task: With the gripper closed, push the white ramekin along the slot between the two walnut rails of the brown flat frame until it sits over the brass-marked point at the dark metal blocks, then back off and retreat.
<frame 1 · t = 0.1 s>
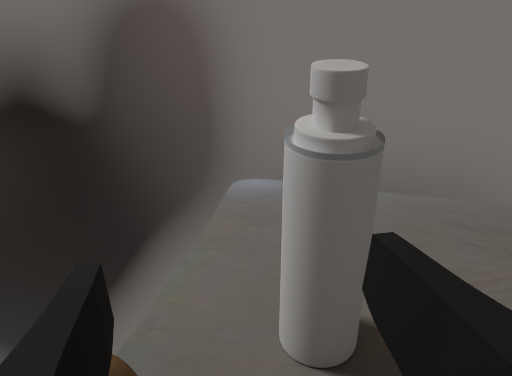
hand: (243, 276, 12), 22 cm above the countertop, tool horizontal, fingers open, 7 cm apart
white bottle: (317, 338, 38), on the countertop
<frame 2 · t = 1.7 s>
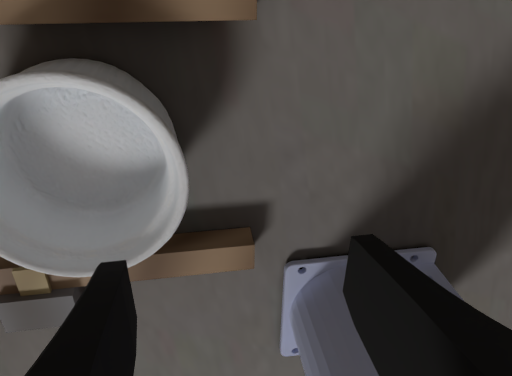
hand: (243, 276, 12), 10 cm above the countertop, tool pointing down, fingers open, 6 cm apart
brown flat frame: (7, 148, 19), on the countertop
ramekin: (89, 140, 20), resting in brown flat frame
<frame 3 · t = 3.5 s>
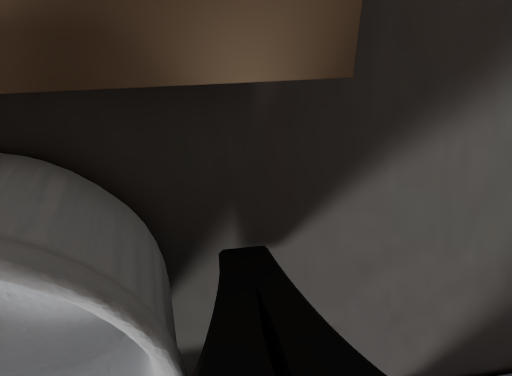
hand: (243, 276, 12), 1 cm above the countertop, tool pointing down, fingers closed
ramekin: (17, 272, 12), resting in brown flat frame, touching gripper
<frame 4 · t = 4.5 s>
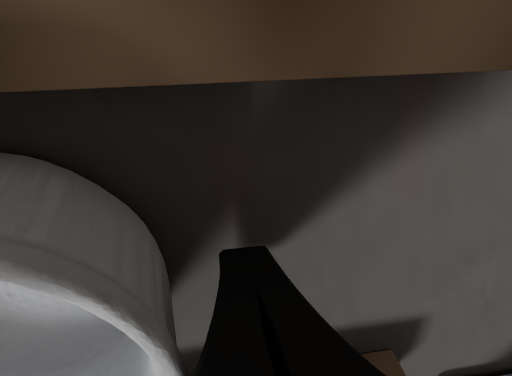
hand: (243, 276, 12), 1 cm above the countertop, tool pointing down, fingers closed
brown flat frame: (44, 272, 12), on the countertop
ramekin: (17, 272, 12), resting in brown flat frame, touching gripper
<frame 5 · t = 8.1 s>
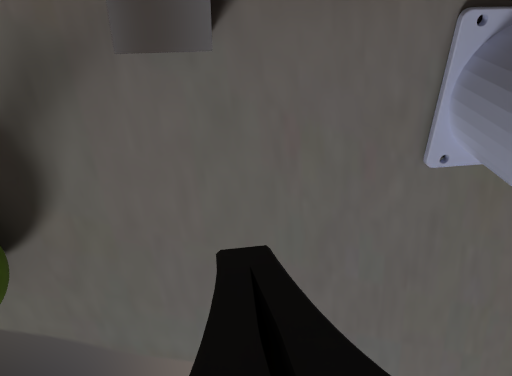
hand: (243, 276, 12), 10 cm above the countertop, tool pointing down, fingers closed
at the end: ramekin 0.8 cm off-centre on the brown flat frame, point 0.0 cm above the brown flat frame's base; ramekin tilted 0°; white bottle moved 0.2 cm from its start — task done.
